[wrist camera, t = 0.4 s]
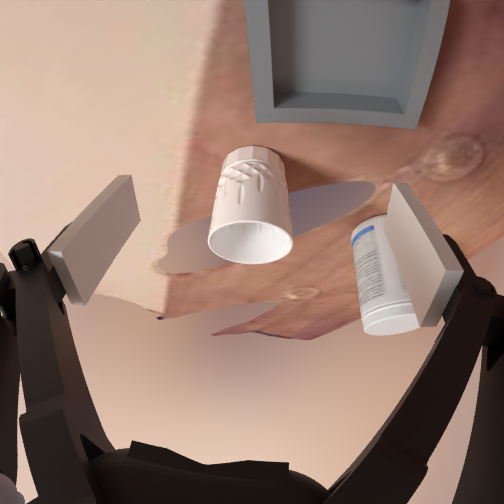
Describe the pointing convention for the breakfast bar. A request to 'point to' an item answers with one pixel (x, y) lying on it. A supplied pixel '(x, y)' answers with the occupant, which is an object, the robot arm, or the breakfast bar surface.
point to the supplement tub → (380, 282)
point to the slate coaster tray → (343, 59)
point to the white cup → (251, 208)
